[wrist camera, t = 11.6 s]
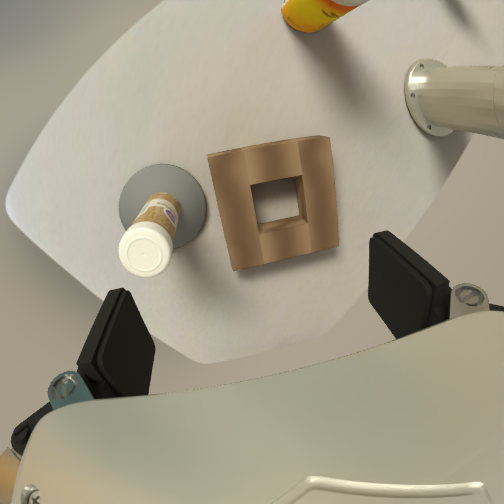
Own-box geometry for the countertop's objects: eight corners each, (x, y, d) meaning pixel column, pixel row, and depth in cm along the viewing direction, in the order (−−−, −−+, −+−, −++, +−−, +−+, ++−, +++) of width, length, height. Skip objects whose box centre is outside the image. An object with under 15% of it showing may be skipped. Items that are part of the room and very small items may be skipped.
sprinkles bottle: (188, 207, 36) (182, 252, 24) (164, 233, 37) (149, 289, 25) (160, 183, 34) (138, 217, 22) (136, 210, 35) (107, 257, 23)
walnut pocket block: (318, 135, 35) (329, 137, 32) (328, 236, 42) (339, 245, 38) (207, 154, 34) (207, 158, 31) (230, 259, 40) (232, 271, 37)
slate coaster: (195, 154, 34) (194, 154, 33) (214, 237, 39) (214, 239, 38) (110, 177, 33) (108, 178, 32) (135, 256, 38) (134, 258, 37)
